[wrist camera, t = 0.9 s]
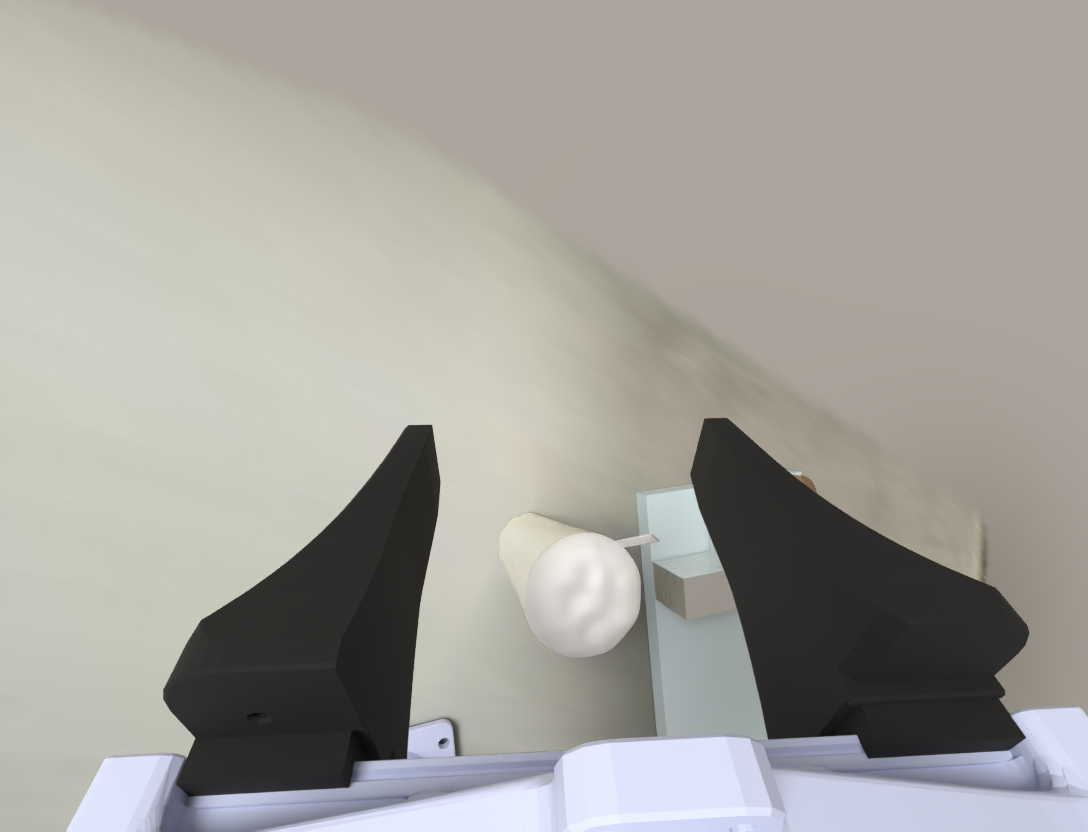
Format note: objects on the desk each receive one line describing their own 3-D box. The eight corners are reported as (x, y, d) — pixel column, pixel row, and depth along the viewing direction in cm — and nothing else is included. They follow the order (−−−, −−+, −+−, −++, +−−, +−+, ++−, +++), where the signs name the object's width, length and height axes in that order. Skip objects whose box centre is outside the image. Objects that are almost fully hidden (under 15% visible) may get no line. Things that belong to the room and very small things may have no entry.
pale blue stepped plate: (810, 777, 32) (872, 830, 28) (665, 829, 30) (710, 897, 25) (786, 469, 32) (845, 477, 28) (635, 492, 29) (677, 505, 25)
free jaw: (810, 565, 31) (891, 595, 26) (656, 599, 28) (714, 639, 23) (801, 454, 31) (882, 462, 26) (645, 476, 28) (702, 490, 23)
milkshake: (595, 519, 28) (701, 573, 19) (535, 604, 27) (616, 707, 18) (530, 469, 27) (608, 499, 18) (466, 556, 26) (512, 637, 17)
